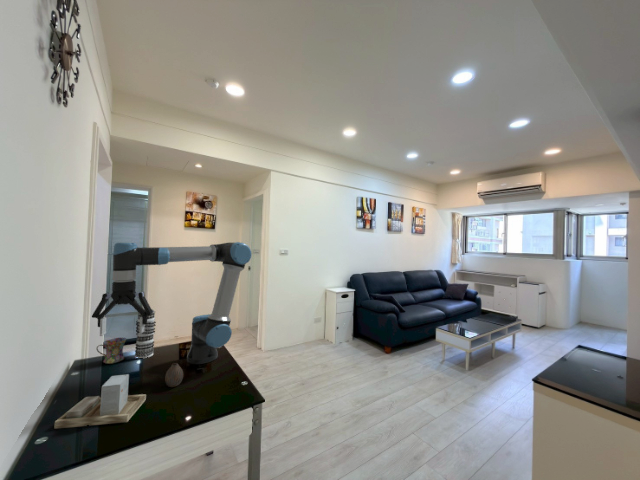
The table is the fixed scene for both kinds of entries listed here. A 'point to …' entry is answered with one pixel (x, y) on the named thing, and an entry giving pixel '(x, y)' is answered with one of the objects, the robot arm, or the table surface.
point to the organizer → (98, 412)
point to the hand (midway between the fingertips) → (122, 333)
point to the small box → (114, 395)
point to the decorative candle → (145, 337)
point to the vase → (174, 375)
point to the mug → (113, 350)
